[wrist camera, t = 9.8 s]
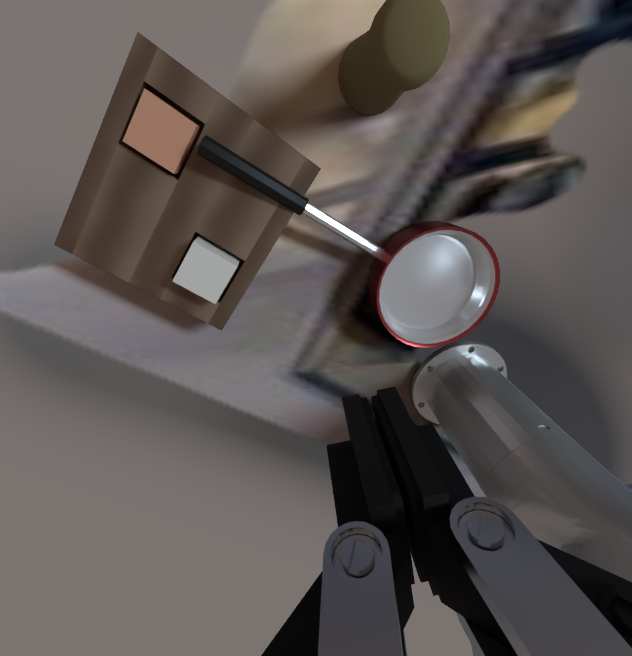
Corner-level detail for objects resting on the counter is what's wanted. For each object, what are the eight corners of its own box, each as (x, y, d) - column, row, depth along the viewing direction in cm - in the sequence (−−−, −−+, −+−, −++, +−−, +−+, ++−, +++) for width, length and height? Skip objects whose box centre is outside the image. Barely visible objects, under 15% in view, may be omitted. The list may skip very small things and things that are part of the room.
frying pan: (182, 237, 35) (164, 251, 29) (226, 101, 31) (215, 86, 25) (437, 345, 44) (461, 372, 38) (500, 250, 39) (538, 265, 34)
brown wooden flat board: (315, 168, 34) (320, 168, 30) (226, 315, 39) (221, 330, 35) (154, 48, 29) (137, 31, 25) (77, 236, 34) (54, 244, 30)
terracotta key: (203, 128, 30) (197, 125, 27) (182, 173, 31) (173, 173, 29) (156, 95, 29) (144, 88, 26) (135, 143, 30) (122, 140, 27)
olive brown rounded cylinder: (351, 126, 33) (385, 109, 23) (328, 51, 30) (354, -5, 20) (412, 98, 32) (474, 68, 22) (394, 19, 30) (454, -54, 20)
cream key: (240, 259, 34) (237, 266, 31) (219, 293, 35) (215, 304, 32) (200, 235, 33) (193, 241, 30) (180, 272, 34) (172, 281, 31)
